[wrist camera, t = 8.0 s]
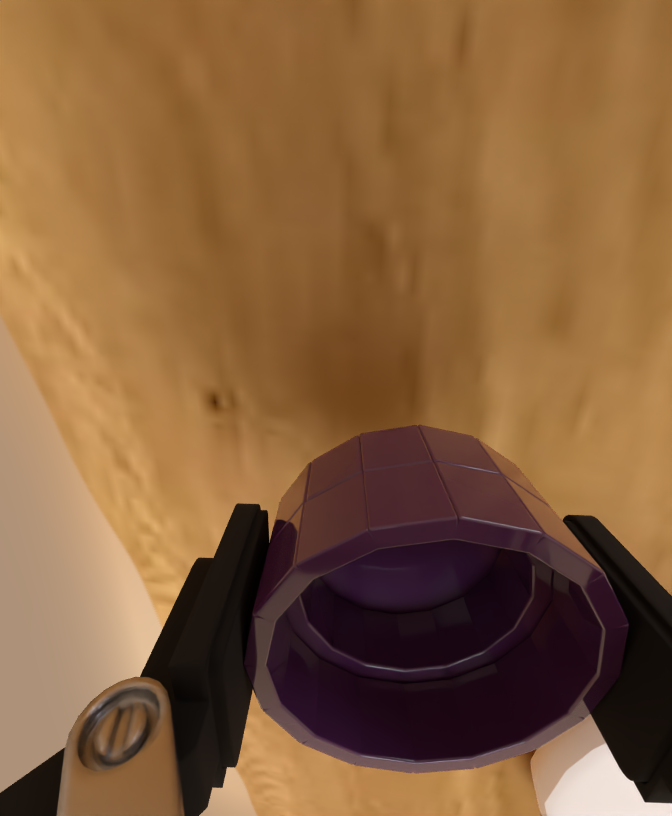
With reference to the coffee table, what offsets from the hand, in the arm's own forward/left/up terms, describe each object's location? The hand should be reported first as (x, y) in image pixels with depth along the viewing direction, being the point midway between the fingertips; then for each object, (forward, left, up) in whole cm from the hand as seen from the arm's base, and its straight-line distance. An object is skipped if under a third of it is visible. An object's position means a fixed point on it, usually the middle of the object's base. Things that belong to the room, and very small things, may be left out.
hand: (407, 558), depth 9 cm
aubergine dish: (0, 0, -1) cm, 1 cm away
